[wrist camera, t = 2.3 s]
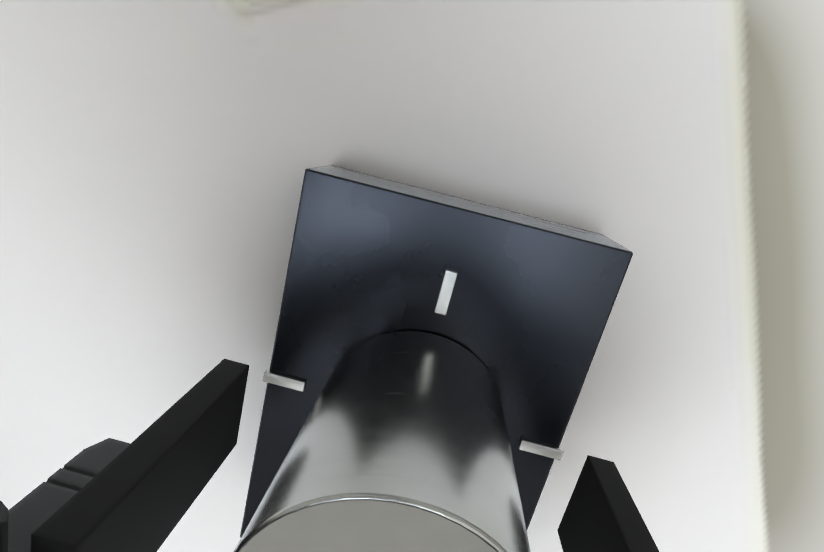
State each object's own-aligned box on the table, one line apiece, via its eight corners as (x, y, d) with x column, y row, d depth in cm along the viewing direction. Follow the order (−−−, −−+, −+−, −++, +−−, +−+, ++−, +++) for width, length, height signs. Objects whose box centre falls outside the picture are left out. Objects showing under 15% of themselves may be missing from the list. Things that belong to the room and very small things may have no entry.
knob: (342, 309, 15) (231, 467, 8) (526, 357, 15) (599, 567, 7) (309, 465, 17) (190, 723, 9) (474, 509, 17) (491, 808, 9)
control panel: (327, 164, 17) (300, 167, 14) (606, 235, 17) (639, 254, 14) (267, 483, 21) (234, 541, 18) (493, 545, 21) (500, 613, 18)
